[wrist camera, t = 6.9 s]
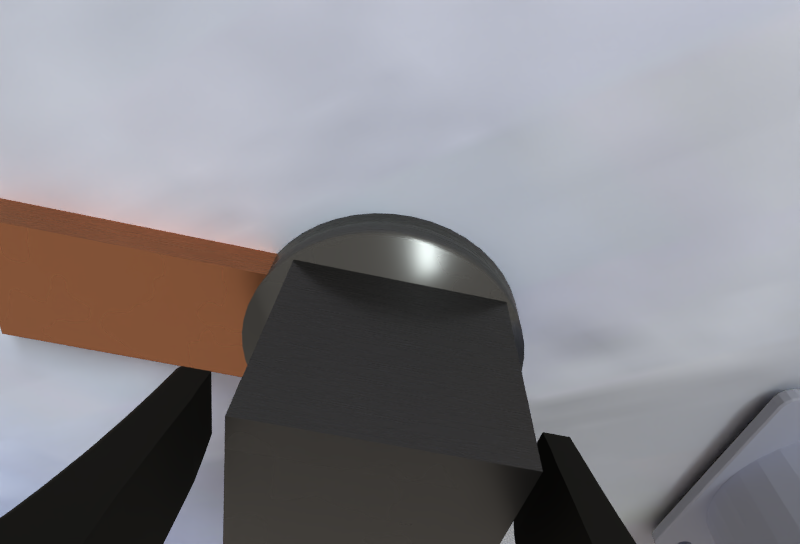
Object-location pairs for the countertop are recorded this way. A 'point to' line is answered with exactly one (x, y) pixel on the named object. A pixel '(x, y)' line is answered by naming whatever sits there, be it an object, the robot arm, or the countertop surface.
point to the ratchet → (202, 281)
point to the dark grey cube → (378, 417)
